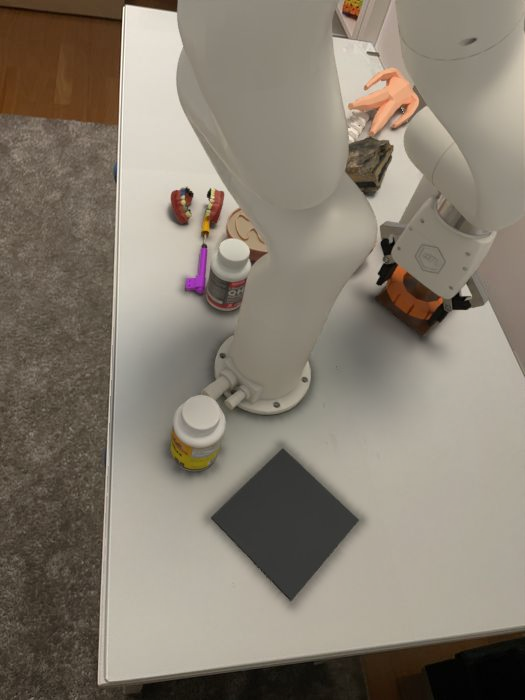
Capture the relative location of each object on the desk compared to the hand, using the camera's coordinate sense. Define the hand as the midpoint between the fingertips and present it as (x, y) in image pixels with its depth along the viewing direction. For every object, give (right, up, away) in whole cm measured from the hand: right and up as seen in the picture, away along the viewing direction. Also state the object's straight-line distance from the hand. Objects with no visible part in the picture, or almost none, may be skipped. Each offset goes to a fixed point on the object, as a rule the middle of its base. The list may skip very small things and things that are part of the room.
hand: (407, 300), depth 78 cm
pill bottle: (-26, 0, 0) cm, 26 cm away
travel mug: (+3, +9, +12) cm, 15 cm away
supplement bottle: (-29, -19, -14) cm, 37 cm away
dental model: (-26, +15, +6) cm, 31 cm away
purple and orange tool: (-30, +7, +3) cm, 31 cm away
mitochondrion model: (-15, +8, +7) cm, 18 cm away
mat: (-18, -26, -16) cm, 36 cm away
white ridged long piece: (-4, +35, +27) cm, 44 cm away
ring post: (+2, 0, +6) cm, 6 cm away
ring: (+2, +1, +3) cm, 4 cm away
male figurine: (-3, +34, +22) cm, 40 cm away
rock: (-7, +28, +16) cm, 34 cm away
